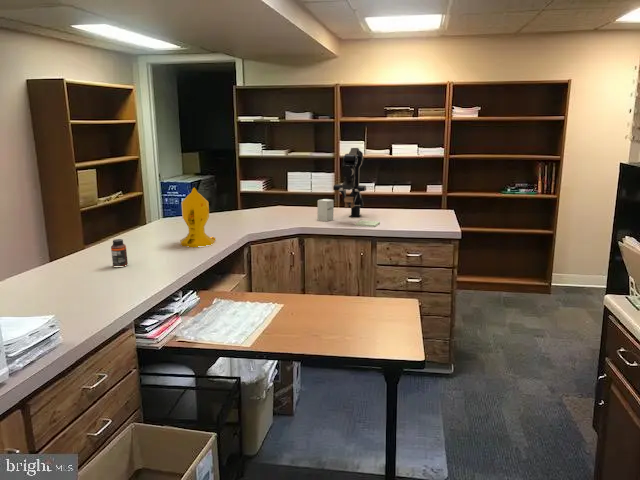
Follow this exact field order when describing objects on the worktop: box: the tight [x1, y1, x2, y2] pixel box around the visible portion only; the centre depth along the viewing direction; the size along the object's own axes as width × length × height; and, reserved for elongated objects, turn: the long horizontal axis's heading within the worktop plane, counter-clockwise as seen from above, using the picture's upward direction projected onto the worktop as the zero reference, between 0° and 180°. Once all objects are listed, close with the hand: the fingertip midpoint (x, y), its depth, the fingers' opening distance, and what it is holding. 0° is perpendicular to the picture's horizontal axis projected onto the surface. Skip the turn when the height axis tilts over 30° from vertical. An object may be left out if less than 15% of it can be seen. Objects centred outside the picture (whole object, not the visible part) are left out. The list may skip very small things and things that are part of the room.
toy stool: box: [343, 196, 354, 209], centre depth 307 cm, size 5×5×6 cm
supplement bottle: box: [110, 238, 129, 267], centre depth 218 cm, size 6×6×11 cm
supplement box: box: [317, 198, 334, 222], centre depth 319 cm, size 7×7×13 cm
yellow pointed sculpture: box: [179, 187, 217, 247], centre depth 256 cm, size 18×24×28 cm
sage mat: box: [354, 219, 381, 228], centre depth 307 cm, size 12×12×1 cm
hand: (349, 202), depth 307 cm, fingers closed on toy stool, 5 cm apart
